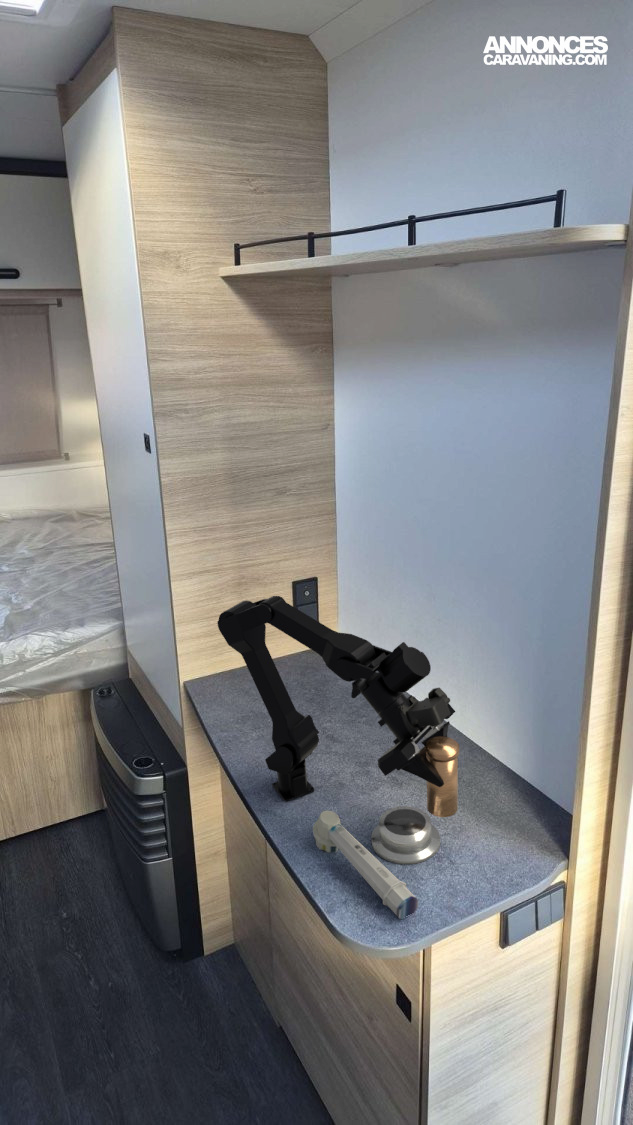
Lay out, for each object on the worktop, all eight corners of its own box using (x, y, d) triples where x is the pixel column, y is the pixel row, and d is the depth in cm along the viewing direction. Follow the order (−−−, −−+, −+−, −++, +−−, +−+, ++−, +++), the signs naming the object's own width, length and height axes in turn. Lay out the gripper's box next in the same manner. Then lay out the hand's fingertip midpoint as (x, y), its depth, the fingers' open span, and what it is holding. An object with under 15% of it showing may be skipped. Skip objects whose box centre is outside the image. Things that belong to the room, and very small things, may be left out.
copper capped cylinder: (418, 804, 137) (417, 741, 133) (445, 793, 140) (445, 732, 136) (438, 822, 132) (437, 758, 128) (466, 811, 135) (466, 747, 131)
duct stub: (358, 834, 141) (357, 815, 140) (415, 812, 146) (414, 793, 145) (395, 873, 131) (394, 853, 129) (454, 848, 136) (453, 828, 134)
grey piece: (396, 906, 119) (306, 808, 138) (394, 937, 121) (307, 837, 140) (422, 891, 121) (331, 796, 140) (420, 922, 124) (331, 825, 143)
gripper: (392, 706, 124) (457, 787, 121) (444, 659, 138) (503, 731, 135) (351, 736, 130) (412, 814, 128) (405, 689, 145) (460, 758, 142)
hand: (449, 777), depth 133 cm, fingers closed on copper capped cylinder, 5 cm apart
